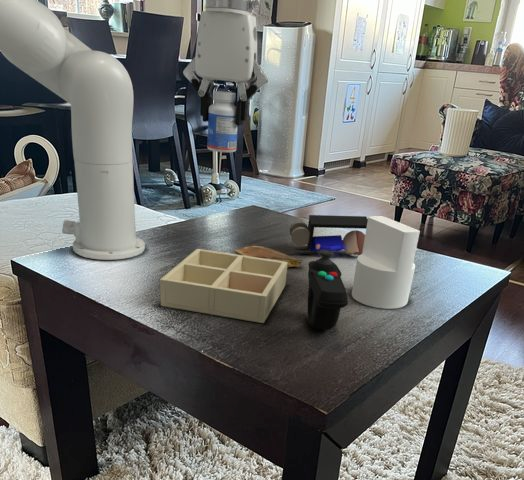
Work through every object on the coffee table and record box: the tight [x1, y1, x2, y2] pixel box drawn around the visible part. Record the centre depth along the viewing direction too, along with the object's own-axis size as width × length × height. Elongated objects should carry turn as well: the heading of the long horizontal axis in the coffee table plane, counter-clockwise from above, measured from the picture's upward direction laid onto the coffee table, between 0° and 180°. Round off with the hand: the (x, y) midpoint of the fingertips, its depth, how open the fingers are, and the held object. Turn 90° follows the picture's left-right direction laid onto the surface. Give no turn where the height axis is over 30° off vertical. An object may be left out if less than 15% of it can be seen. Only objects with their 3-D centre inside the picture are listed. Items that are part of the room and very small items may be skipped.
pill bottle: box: [206, 90, 239, 154], centre depth 96 cm, size 6×5×10 cm
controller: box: [307, 250, 349, 331], centre depth 72 cm, size 4×12×10 cm, turn 3°
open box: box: [159, 248, 288, 324], centre depth 81 cm, size 15×15×4 cm
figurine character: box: [289, 214, 368, 257], centre depth 103 cm, size 7×8×15 cm
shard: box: [234, 245, 303, 268], centre depth 96 cm, size 11×8×2 cm
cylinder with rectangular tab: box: [351, 215, 421, 310], centre depth 83 cm, size 9×9×12 cm
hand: (223, 121), depth 96 cm, fingers closed on pill bottle, 5 cm apart
